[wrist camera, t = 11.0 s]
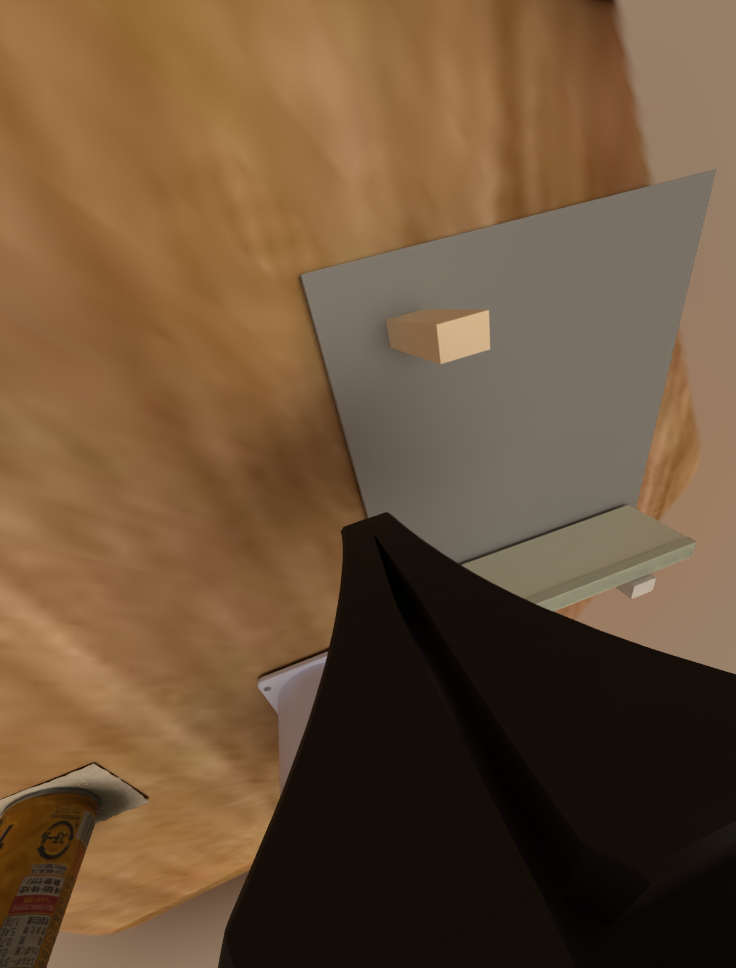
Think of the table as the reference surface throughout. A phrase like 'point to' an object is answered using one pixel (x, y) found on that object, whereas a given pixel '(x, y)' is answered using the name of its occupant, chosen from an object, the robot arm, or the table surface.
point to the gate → (585, 558)
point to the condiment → (49, 856)
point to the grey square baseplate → (511, 366)
